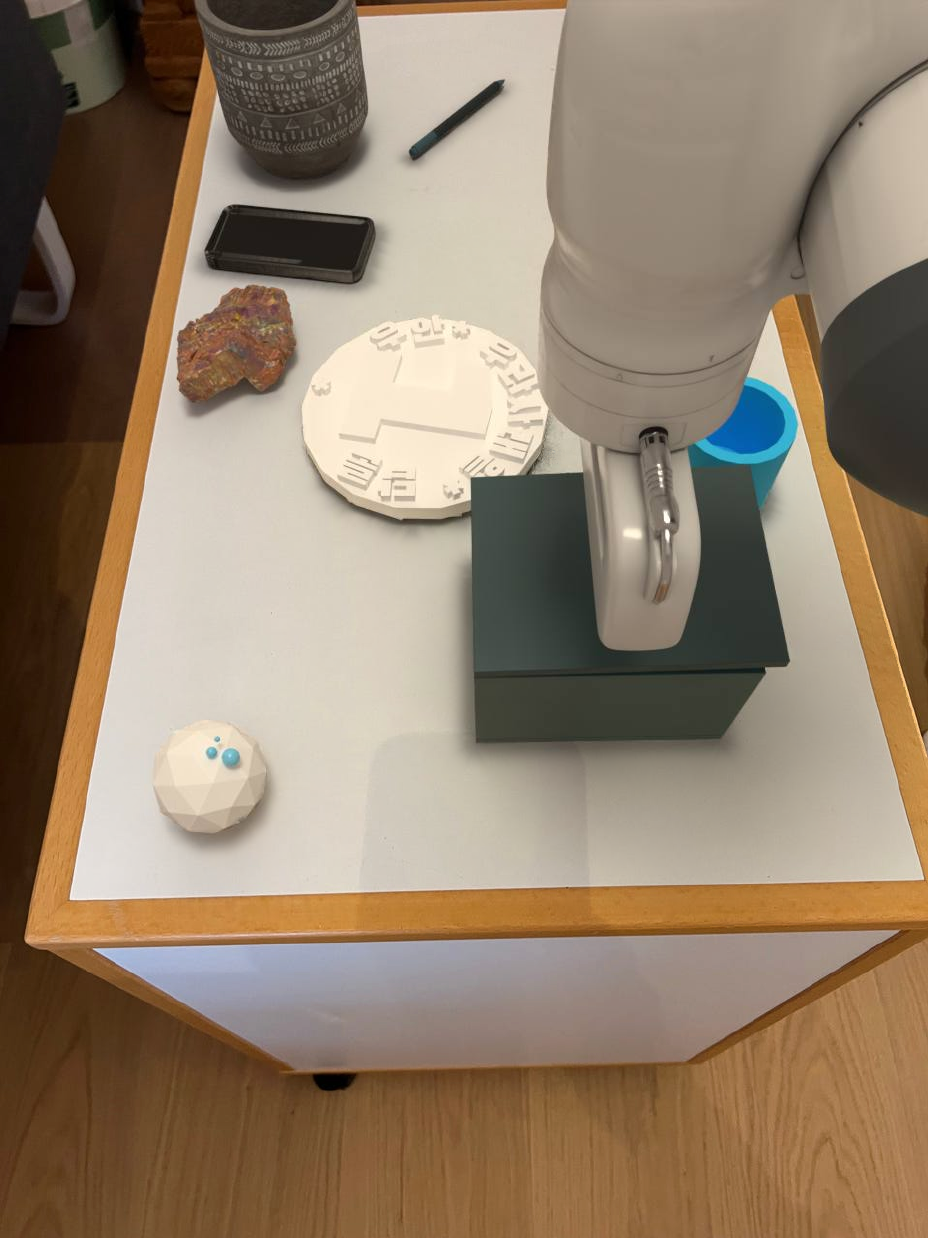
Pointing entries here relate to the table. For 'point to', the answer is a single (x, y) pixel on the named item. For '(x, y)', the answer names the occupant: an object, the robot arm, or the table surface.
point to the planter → (288, 80)
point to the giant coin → (422, 416)
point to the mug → (752, 436)
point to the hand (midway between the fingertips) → (607, 531)
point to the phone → (291, 243)
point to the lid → (564, 593)
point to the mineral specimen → (236, 343)
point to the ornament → (209, 776)
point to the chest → (611, 705)
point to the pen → (455, 118)
